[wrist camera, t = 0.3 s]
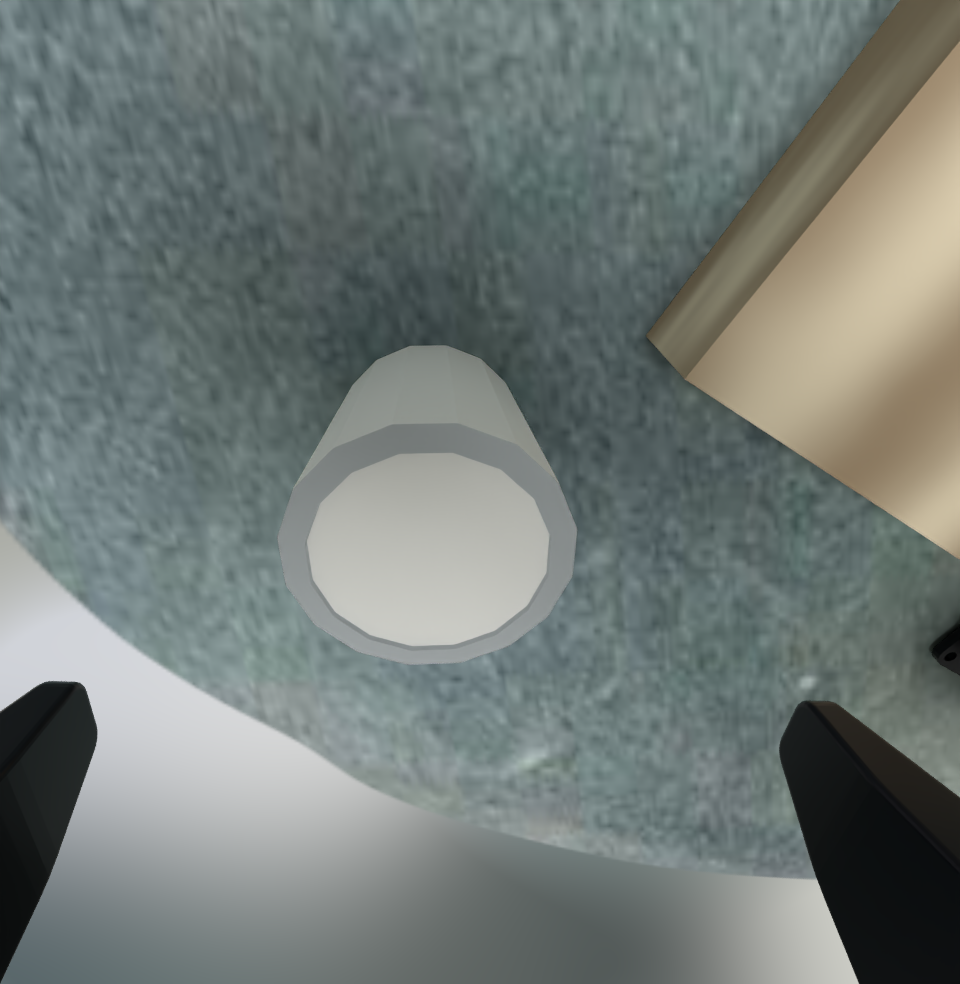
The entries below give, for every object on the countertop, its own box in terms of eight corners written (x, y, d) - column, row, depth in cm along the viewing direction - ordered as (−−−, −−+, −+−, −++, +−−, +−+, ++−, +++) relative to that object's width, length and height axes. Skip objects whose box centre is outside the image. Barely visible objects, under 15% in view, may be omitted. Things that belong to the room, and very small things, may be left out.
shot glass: (332, 302, 19) (285, 398, 13) (562, 346, 20) (618, 452, 14) (313, 504, 22) (268, 653, 16) (511, 532, 23) (538, 682, 17)
